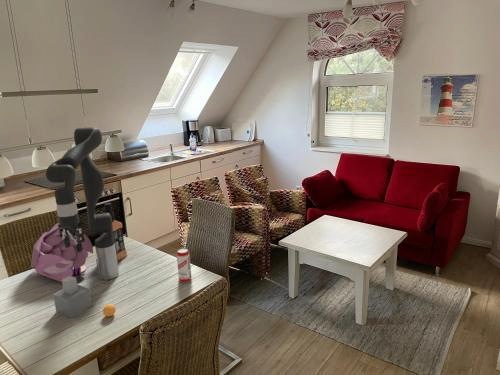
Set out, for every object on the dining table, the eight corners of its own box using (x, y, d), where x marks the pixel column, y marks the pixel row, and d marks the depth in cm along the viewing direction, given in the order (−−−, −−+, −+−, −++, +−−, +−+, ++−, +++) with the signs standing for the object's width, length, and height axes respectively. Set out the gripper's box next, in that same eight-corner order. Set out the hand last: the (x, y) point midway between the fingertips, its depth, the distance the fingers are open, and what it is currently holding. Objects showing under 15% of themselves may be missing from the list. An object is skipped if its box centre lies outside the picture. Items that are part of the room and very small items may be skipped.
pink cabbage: (104, 274, 206) (107, 223, 203) (78, 290, 183) (82, 232, 180) (45, 265, 211) (47, 215, 208) (12, 279, 187) (15, 223, 185)
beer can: (189, 283, 185) (186, 253, 180) (176, 282, 186) (174, 252, 182) (193, 277, 191) (191, 248, 186) (181, 276, 192) (179, 247, 188)
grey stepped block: (56, 312, 165) (50, 281, 161) (76, 300, 174) (71, 271, 169) (71, 318, 160) (65, 287, 156) (91, 306, 169) (86, 276, 165)
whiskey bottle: (128, 255, 217) (121, 201, 208) (115, 262, 209) (108, 207, 200) (114, 252, 221) (106, 199, 213) (101, 259, 213) (93, 205, 204)
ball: (101, 317, 161) (99, 306, 159) (110, 310, 165) (109, 300, 163) (109, 320, 158) (107, 309, 157) (118, 313, 162) (117, 303, 161)
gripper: (49, 212, 156) (55, 249, 160) (69, 218, 148) (75, 256, 153) (66, 207, 162) (72, 242, 166) (86, 213, 154) (92, 249, 159)
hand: (73, 249), depth 160 cm, fingers open, 8 cm apart
